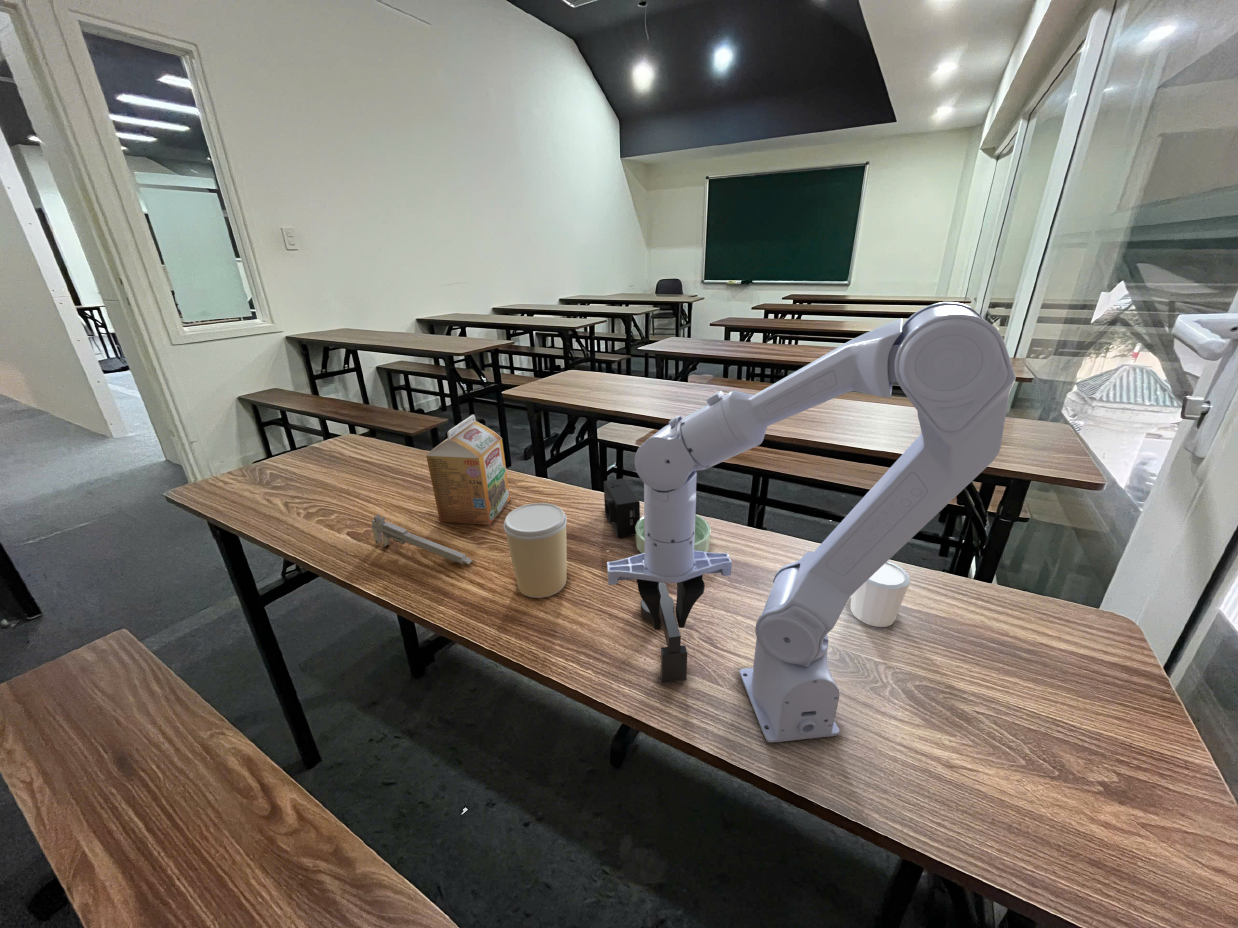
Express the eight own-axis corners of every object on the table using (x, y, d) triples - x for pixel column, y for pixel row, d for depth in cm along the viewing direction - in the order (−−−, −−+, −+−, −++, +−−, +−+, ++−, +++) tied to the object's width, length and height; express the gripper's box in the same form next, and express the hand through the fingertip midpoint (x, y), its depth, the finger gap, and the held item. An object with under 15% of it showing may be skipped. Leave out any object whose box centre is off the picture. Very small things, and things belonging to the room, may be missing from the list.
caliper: (376, 545, 87) (367, 515, 85) (380, 542, 88) (372, 512, 86) (468, 565, 81) (462, 533, 78) (472, 562, 82) (466, 530, 79)
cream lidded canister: (580, 569, 79) (575, 505, 74) (558, 606, 71) (551, 536, 66) (528, 561, 81) (520, 499, 77) (501, 596, 73) (491, 528, 68)
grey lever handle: (693, 679, 58) (695, 635, 55) (654, 683, 58) (654, 639, 55) (670, 599, 71) (671, 561, 69) (638, 602, 71) (638, 564, 68)
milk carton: (489, 524, 93) (474, 432, 86) (439, 521, 95) (421, 430, 87) (510, 499, 103) (498, 414, 95) (464, 496, 104) (449, 413, 97)
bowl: (718, 562, 80) (719, 545, 78) (640, 568, 79) (640, 551, 77) (699, 523, 91) (700, 507, 90) (631, 528, 90) (631, 511, 89)
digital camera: (598, 512, 96) (597, 481, 94) (624, 508, 98) (624, 477, 95) (611, 539, 87) (610, 505, 84) (640, 534, 88) (639, 500, 86)
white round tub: (907, 633, 64) (918, 590, 61) (851, 627, 65) (860, 585, 62) (891, 599, 70) (901, 559, 67) (840, 594, 71) (848, 555, 68)
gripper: (721, 508, 58) (716, 597, 64) (603, 516, 57) (608, 606, 63) (740, 539, 52) (732, 635, 57) (607, 549, 51) (612, 646, 56)
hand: (668, 623), depth 60 cm, fingers closed
